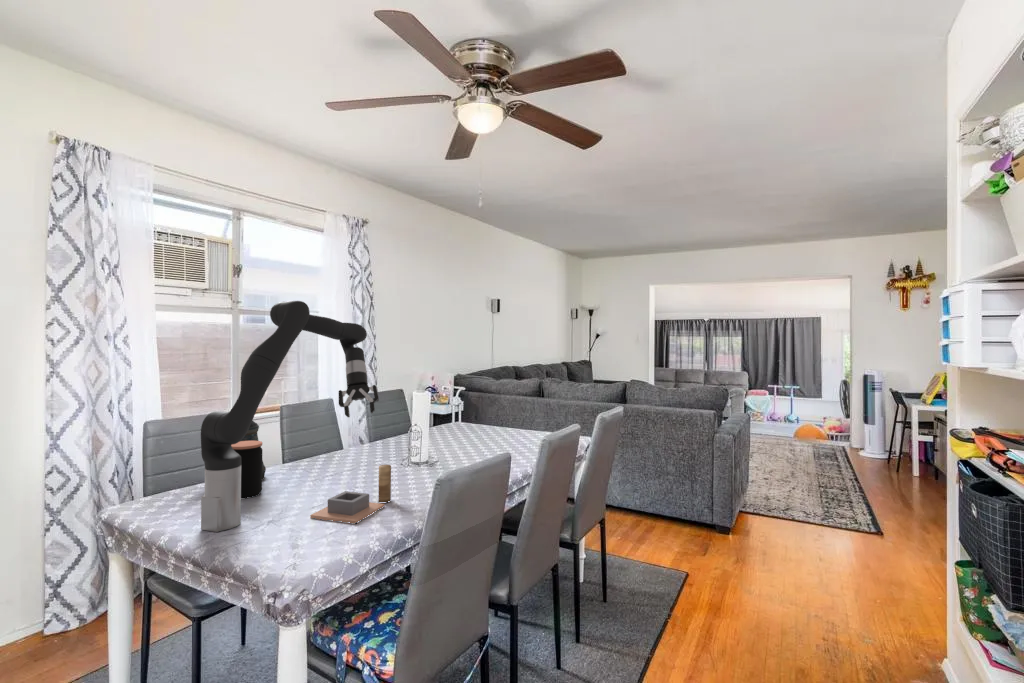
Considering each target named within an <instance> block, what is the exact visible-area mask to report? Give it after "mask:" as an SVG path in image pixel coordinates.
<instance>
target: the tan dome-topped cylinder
mask: <svg viewBox="0 0 1024 683" xmlns="http://www.w3.org/2000/svg"><path fill="white" fill-rule="evenodd" d="M391 488H392V465H391V464H380V465H379V466H378V503H379V502H388V501H390V500H392V499H391V498H392V497H391V496H392V492H391V491H392V489H391Z"/></svg>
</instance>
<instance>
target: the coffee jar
mask: <svg viewBox="0 0 1024 683" xmlns="http://www.w3.org/2000/svg"><path fill="white" fill-rule="evenodd" d="M231 446H232V448H233V449H234V451H235V452H237V453H238V454H239V455H240V456H241V498H245V499H248V498H247V497H251V498H253V497H252V496H255V497H257V496H259V495H260V494H261V492H262V491H263V479H262V460H263V448H262V446H263V442H262V441H260V440H258V441H240V442H238V443H236V444H232V445H231ZM259 493H260V494H259ZM258 494H259V495H258ZM256 495H257V496H256Z"/></svg>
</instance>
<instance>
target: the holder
mask: <svg viewBox="0 0 1024 683" xmlns="http://www.w3.org/2000/svg"><path fill="white" fill-rule="evenodd" d="M383 506H386V503H379V502H371V501H370V493H366V492H356V491H355V492H354V491H347V490H345V491H343V492H341V493H338V494H336V495H335V496H332V497H330V498H328V499H327V506H326V507H324V508H322V509H320V510H317V511H315V512H313V513H312V514H310V519H312V518H316V519H315V520H320V519H323V520H322V521H327V520H333V521H332V522H335V521H342V522H350V523H356V522H358V521H360V520H362V519H363V518H365V517H367V516H368V515H370V514H372V513H373V512H375V511H377V510H378V509H380V508H382V507H383ZM382 509H383V508H382ZM377 512H378V511H377ZM372 515H373V514H372ZM370 516H371V515H370ZM367 518H368V517H367ZM365 519H366V518H365ZM362 521H363V520H362ZM342 522H341V523H342ZM360 522H361V521H360ZM350 523H349V524H350Z"/></svg>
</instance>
